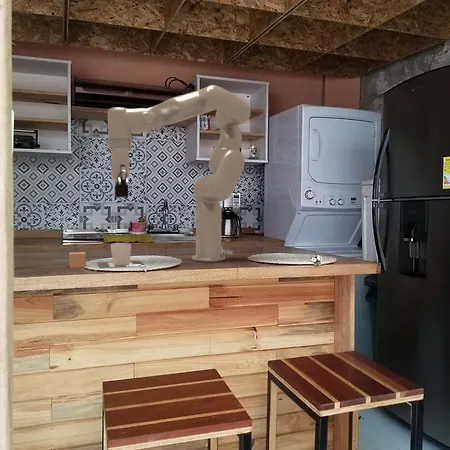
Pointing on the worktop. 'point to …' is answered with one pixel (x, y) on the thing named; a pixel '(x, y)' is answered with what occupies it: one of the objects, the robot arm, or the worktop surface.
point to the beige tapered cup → (121, 253)
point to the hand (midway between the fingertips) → (121, 196)
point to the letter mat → (110, 265)
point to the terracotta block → (77, 259)
